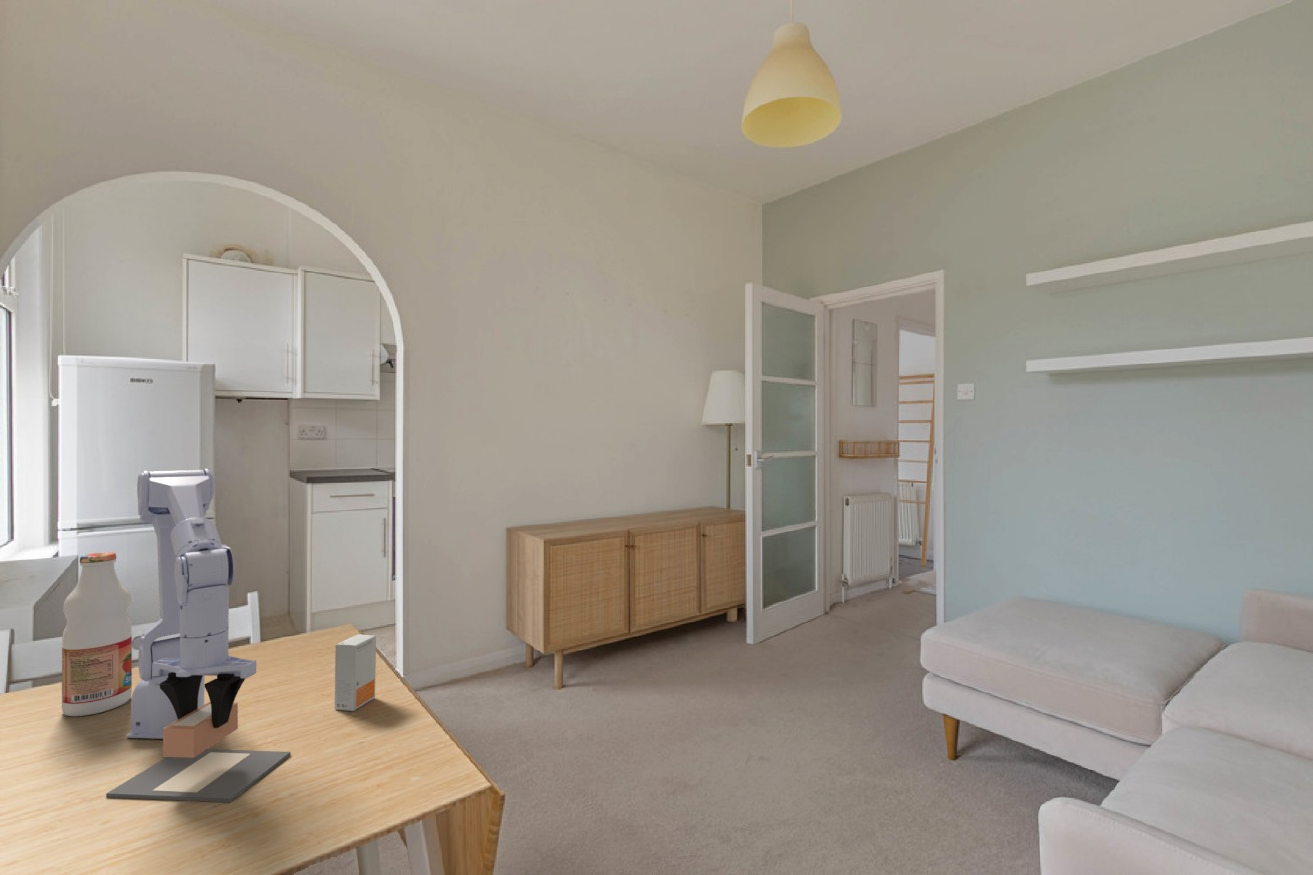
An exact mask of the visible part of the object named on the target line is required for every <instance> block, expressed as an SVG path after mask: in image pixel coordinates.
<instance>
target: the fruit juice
mask: <svg viewBox="0 0 1313 875" xmlns="http://www.w3.org/2000/svg"><path fill="white" fill-rule="evenodd" d="M116 561H117V554H116V553H115V552H114V551H113V552H109V551H107V552H95V553H93V552H92V553H87V554H83V555H80V556H79V563H80V564H79V566H81V573H80V576H79V578H78V582H77V583H76V585H75V587H74V588H73V590H72V591H71V592H70V593H69V594H68V595H67V597H66V598H65V599H64V602H63V609H62V611H63V614H64V616H65V620H66V626H65V628H64V629H63V633H62V640H61V710H62V713H63V715H65V716H68V717H84V716H91V715H96V714H101V713H104V712H107V711H111V710H113V709H116V708H118V707H120V706H123V705H124V704H126V703H127V702H129V701H130V699H131V698H132V693H133V692H132V689H133V688H132V685H133V683H132V681H133V680H132V679H133V678H132V677H133V676H132V675H133V673H132V670H133V668H132V662H133V654H132V653H133V650H132V649H133V644H132V643H133V628H132V627H133V626H132V620H131V618H130V617H129V615H128V614H129V612H128V611H129V609H130V605H131V603H132V602H131V601H132V596H131V592H130V590H129V589H128V588H127V587H126V586H125V585H124V584H122V583H121V581H120V579H119V578H118V575H117V573H116V570H115V563H116Z"/></svg>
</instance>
